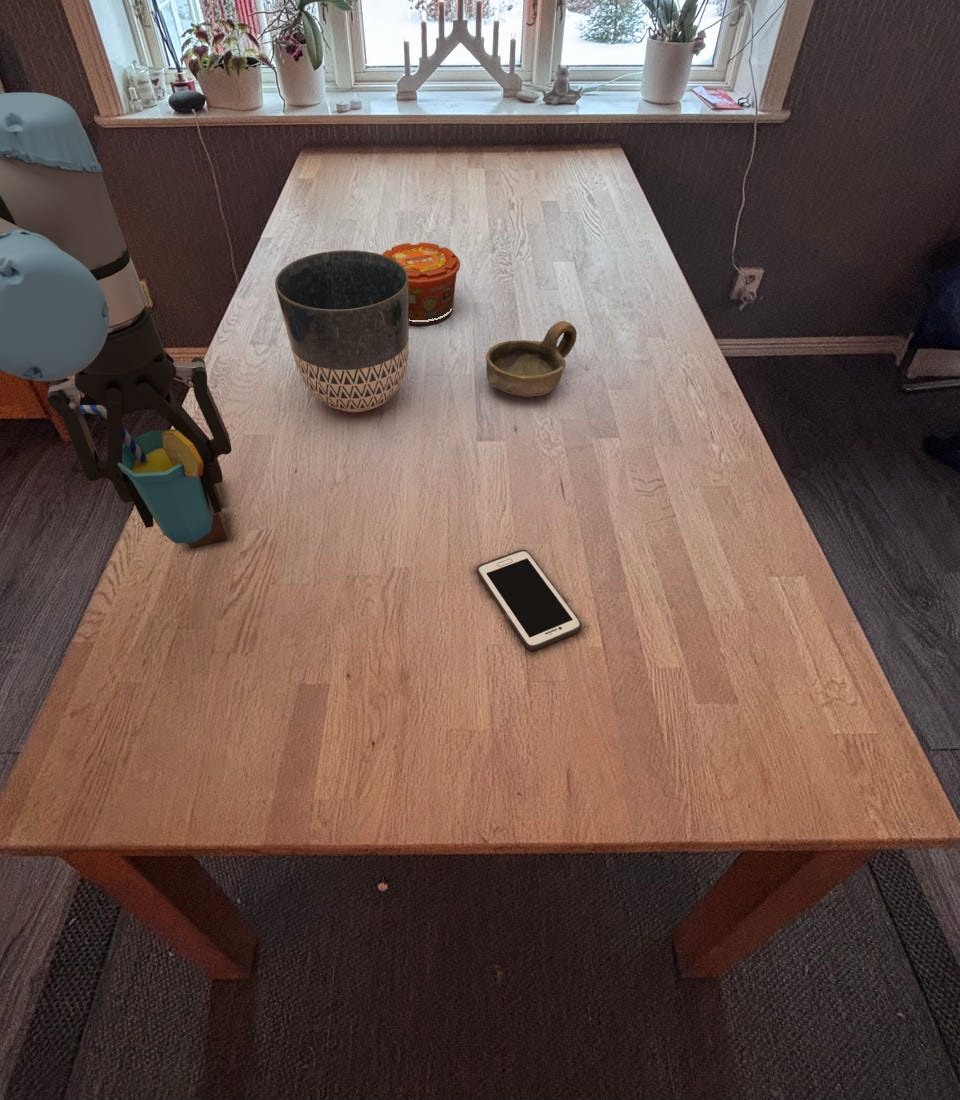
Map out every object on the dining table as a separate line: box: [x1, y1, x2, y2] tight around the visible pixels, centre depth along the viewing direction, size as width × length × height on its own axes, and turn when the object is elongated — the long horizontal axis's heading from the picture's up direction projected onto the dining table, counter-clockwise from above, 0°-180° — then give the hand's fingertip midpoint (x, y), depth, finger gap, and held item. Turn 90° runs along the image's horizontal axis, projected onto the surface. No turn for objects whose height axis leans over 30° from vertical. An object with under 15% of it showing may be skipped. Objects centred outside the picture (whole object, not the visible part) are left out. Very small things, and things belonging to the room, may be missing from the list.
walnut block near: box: [187, 494, 229, 549], centre depth 92 cm, size 5×5×5 cm
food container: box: [381, 242, 461, 327], centre depth 134 cm, size 16×16×11 cm
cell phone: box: [476, 549, 582, 651], centre depth 86 cm, size 8×15×1 cm, turn 27°
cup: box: [79, 404, 213, 544], centre depth 70 cm, size 14×8×15 cm, turn 74°
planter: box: [274, 249, 410, 413], centre depth 108 cm, size 20×20×21 cm
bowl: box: [485, 320, 577, 397], centre depth 117 cm, size 14×18×10 cm
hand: (183, 511), depth 74 cm, fingers closed on cup, 6 cm apart
